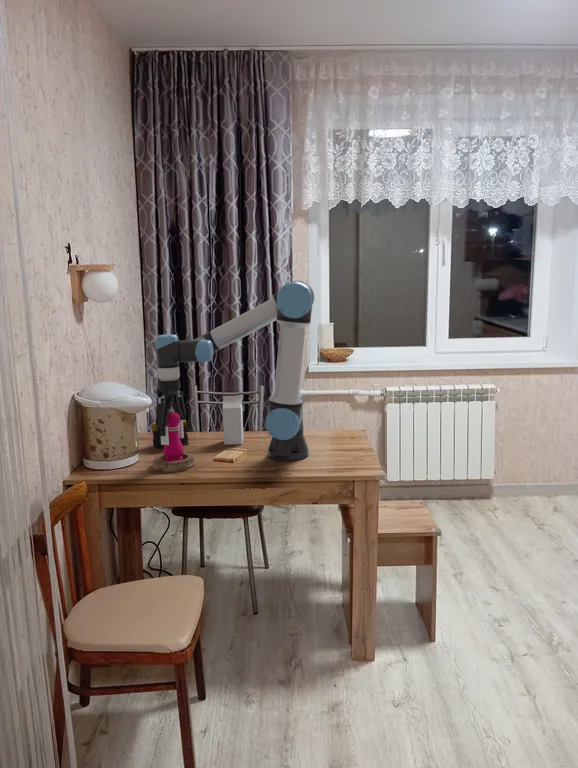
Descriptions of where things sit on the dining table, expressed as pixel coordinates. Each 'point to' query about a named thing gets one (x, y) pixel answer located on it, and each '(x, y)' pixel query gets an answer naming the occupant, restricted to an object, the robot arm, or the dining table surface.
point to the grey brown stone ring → (173, 463)
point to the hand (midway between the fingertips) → (172, 440)
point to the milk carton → (232, 420)
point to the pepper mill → (173, 438)
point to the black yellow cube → (158, 437)
